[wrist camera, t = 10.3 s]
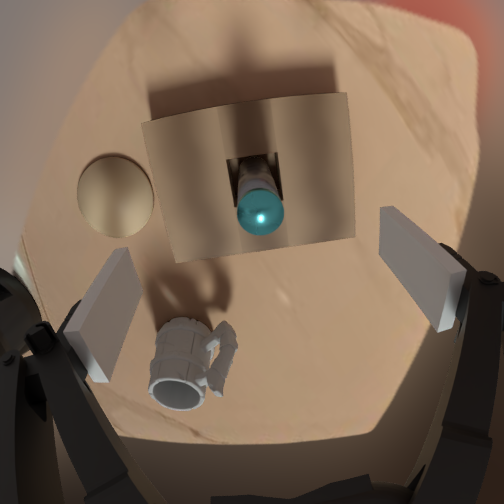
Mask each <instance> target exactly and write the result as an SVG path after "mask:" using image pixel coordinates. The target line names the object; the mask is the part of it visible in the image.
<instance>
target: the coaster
mask: <svg viewBox="0 0 504 504" xmlns="http://www.w3.org/2000/svg"><path fill="white" fill-rule="evenodd" d="M77 199H78V204H79V208H80V211H81V213H82V215H83V217H84V218H85V220H86V221H87V222H88V224H89V225H90V226H91V227H92V228H94V229H95V230H96V231H98V232H99V233H101V234H103V235H106V236H109V237H115V238H122V237H127V236H131V235H133V234H135V233H137V232H138V231H139V230H141V229H142V228H143V227H144V226H145V224H146V223H147V221H148V220H149V218H150V216H151V213H152V210H153V205H154V195H153V189H152V186H151V183H150V181H149V179H148V177H147V176H146V174H145V173H144V172H143V171H142V169H141V168H139V167H138V166H137V165H136V164H134V163H133V162H131V161H129V160H127V159H124V158H120V157H106V158H103V159H100V160H98V161H96V162H94V163H93V164H91V165H90V166H89V167H88V168H87V169H86V170H85V172H84V173H83V175H82V176H81V178H80V181H79V184H78V190H77Z"/></svg>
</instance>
